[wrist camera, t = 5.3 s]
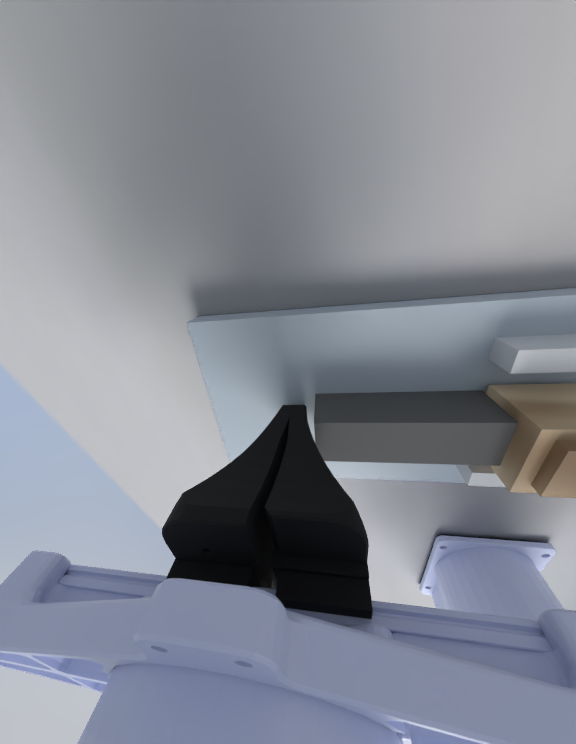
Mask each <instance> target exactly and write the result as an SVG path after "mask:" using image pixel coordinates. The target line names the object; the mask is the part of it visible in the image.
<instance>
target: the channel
mask: <svg viewBox="0 0 576 744" xmlns="http://www.w3.org/2000/svg"><path fill="white" fill-rule="evenodd" d="M187 326H188V330H189V333H190V336H191V339H192V342H193V346H194V349H195V352H196V355H197V358H198V362H199V365H200V368H201V371H202V375H203V378H204V381H205V384H206V387H207V391H208V394H209V397H210V400H211V403H212V407H213V410H214V413H215V416H216V420H217V423H218V426H219V429H220V432H221V436H222V439H223V442H224V445H225V448H226V452H227V455H228V458H229V461H230V463H231V462H232V461H233V460H234V459H236V458H237V457H238V456H239V455H240V454H242V453H243V452H244V451H245V450H246V449H247V448H248V447H249V446H250V445H251V444H252V443H253V442H254V441H255V440H256V439H257V437H258V436H259V435H260V434H261V433H262V432H263V431H264V429H265V428H266V427H267V426H268V424H269V423H270V422H271V421H272V419H273V418H274V417H275V415H276V414H277V412H278V411H279V410H280V408H281V407H282V406H283V405H305V406H306V407H307V419H308V424H309V428H310V431H311V434H312V436H313V439H314V441H315V431H314V411H315V394H326V393H374V392H423V391H472V390H482V391H483V392H484V393H486V392H487V389H488V386H489V385H511V384H560V383H576V288H565V289H552V290H539V291H526V292H513V293H500V294H487V295H473V296H460V297H447V298H434V299H421V300H408V301H395V302H382V303H368V304H355V305H342V306H329V307H316V308H303V309H290V310H277V311H263V312H250V313H237V314H224V315H211V316H198V317H196V318H194V319H192V320H191V321H189V322H187ZM325 463H326V465H327V466H328V468H329V469H330V471H331V473H332V474H333V476H334V477H335V478H351V479H376V480H401V481H425V482H450V483H466V484H467V486H486V487H506V486H505V485H504V484H503V483H502V481H501V480H500V479H499V477H498V476H497V475H496V473H495V472H494V471H493V469H492V468H491V467H490V466H488V465H450V464H413V463H375V462H337V461H325Z"/></svg>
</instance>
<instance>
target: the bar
mask: <svg viewBox="0 0 576 744" xmlns="http://www.w3.org/2000/svg"><path fill="white" fill-rule="evenodd" d="M517 425H518V422H517V421H516V420H515V419H514V418H512V417H511V416H510V415H509V414H508V413H507V412H506V411H505V410H503V409H502V408H501V407H500V406H499V405H498V404H497V403H496V402H495V401H493V400H492V399H491V398H490V397H489V396H488V395H487V394H486V393H484V392H483V391H482V390H472V391H423V392H374V393H326V394H315V411H314V431H315V444H316V446H317V448H318V450H319V452H320V454H321V456H322V458H323V460H324V461H337V462H375V463H413V464H450V465H488V466H500V465H501V462H502V460H503V458H504V455H505V453H506V451H507V448H508V446H509V444H510V441H511V439H512V437H513V434H514V432H515V430H516V427H517Z"/></svg>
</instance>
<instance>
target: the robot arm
mask: <svg viewBox="0 0 576 744" xmlns="http://www.w3.org/2000/svg"><path fill="white" fill-rule="evenodd" d="M162 535H163V538H164V540H165V542H166V544H167V545H168V547H169V548H170V550H171V552H172V553H173V555H174V556H175V558H176V559H175V561H174V563H173V565H172V567H171V570H170V572H169V574H168V576H161V575H154V574H146V573H138V572H129V571H121V570H113V569H112V570H111V569H104V568H96V567H88V566H79V565H71V562H70V561H69V560H68V559H67V558H66V557H65V556H63V555H61V554H59V553H54V552H45V551H32V552H31V553H30V555H28V557H26V559H25V560H24V561H23V562H22V563H21V564H20V565H19V566H18V567H17V568H16V569H15V570H14V571H13V572H12V573H11V574H10V575H9V576H8V578H7V579H6V580H5V581H4V582H3V583H2V584H1V585H0V666H1V667H5V668H10V669H14V670H18V671H22V672H26V673H31V674H34V675H39V676H43V677H47V678H50V679H54V680H58V681H62V682H66V683H69V684H73V685H76V686H80V687H84V688H87V689H91V690H95V691H98V692H102V695H101V697H100V699H99V701H98V703H97V705H96V707H95V709H94V711H93V713H92V715H91V717H90V719H89V721H88V723H87V725H86V728H85V729H84V731H83V734H82V736H81V738H80V740H79V742H78V744H576V611H572V610H564V608H563V607H562V605H561V604H560V602H559V601H558V599H557V598H556V596H555V595H554V593H553V592H552V590H551V589H550V587H549V586H548V584H547V583H546V581H545V580H544V578H543V577H542V575H541V574H540V572H541V570H542V569H543V568H544V567H545V566H546V564H547V563H548V562H549V561H550V559H551V558H552V557H553V556H554V554H555V553H556V549H555V548H554V547H553V546H552V545H551V544H549V543H539V542H526V541H512V540H498V539H485V538H471V537H458V536H444V535H441V536H438V537H437V538H436V540H435V542H434V545H433V548H432V551H431V554H430V557H429V560H428V563H427V566H426V569H425V572H424V575H423V578H422V581H421V584H420V587H419V588H420V592H421V593H422V594H425V595H432V596H433V600H434V603H435V606H436V608H428V607H420V606H412V605H403V604H395V603H387V602H378V601H371V594H370V587H369V572H368V565H367V557H368V546H369V545H368V538H367V534H366V530H365V527H364V525H363V522H362V520H361V517H360V515H359V513H358V510H357V508H356V506H355V504H354V502H353V501H352V499H351V498H350V497H349V496H348V495H347V493H346V492H345V491H344V490H343V488H342V487H341V486H340V484H339V483H338V481H337V480H336V479H335V477H334V476H333V474H332V473H331V471H330V469H329V468H328V466H327V465H326V463H325V461H324V460H323V458H322V456H321V454H320V452H319V450H318V448H317V446H316V444H315V441H314V439H313V436H312V434H311V431H310V428H309V424H308V419H307V407H306V406H305V405H283V406H282V407H281V408H280V410H279V411H278V412H277V414H276V415H275V417H274V418H273V419H272V421H271V422H270V423H269V424H268V426H267V427H266V428H265V429H264V431H263V432H262V433H261V434H260V435H259V436H258V437H257V439H256V440H255V441H254V442H253V443H252V444H251V445H250V446H249V447H248V448H247V449H246V450H245V451H244V452H243V453H242V454H240V455H239V456H238V457H237V458H236V459H234V460H233V461H232V462H231V463H229V464H228V465H227V466H226V467H224V468H223V469H221V470H220V471H219V472H217V473H216V474H214V475H213V476H211V477H210V478H208V479H206V480H205V481H203V482H201V483H200V484H198V485H196V486H194V487H193V488H191V489H189V490H187V491H186V492H184V493H183V494H182V496H181V497H180V499H179V500H178V502H177V503H176V505H175V507H174V509H173V510H172V512H171V514H170V516H169V517H168V519H167V521H166V523H165V525H164V526H163V528H162Z"/></svg>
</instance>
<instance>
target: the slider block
mask: <svg viewBox="0 0 576 744" xmlns="http://www.w3.org/2000/svg"><path fill="white" fill-rule="evenodd" d="M486 394H487V395H488V396H489V397H490V398H491V399H492V400H493V401H495V402H496V403H497V404H498V405H499V406H500V407H501V408H502V409H503V410H505V411H506V412H507V413H508V414H509V415H510V416H511V417H512V418H514V419H515V420H516V421H517V422H518V425H517V427H516V430H515V432H514V434H513V437H512V439H511V441H510V444H509V446H508V448H507V451H506V453H505V455H504V458H503V460H502V462H501V465H500V466H490V467H491V468H492V469H493V471H494V472H495V473H496V475H497V476H498V477H499V479H500V480H501V481H502V483H503V484H504V485H505V486H506V488H507V489H508V490H509V492H521V493H538V494H539V495H540V496H544V497H565V498H576V383H560V384H511V385H489V386H488V389H487V392H486Z"/></svg>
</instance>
